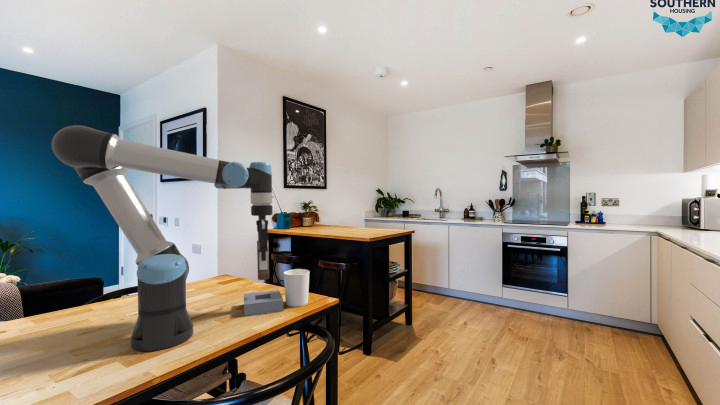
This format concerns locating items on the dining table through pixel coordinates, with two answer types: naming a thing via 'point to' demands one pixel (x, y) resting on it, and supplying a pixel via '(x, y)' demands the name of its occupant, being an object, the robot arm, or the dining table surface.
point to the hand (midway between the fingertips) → (263, 267)
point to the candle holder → (296, 287)
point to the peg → (261, 273)
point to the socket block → (262, 302)
